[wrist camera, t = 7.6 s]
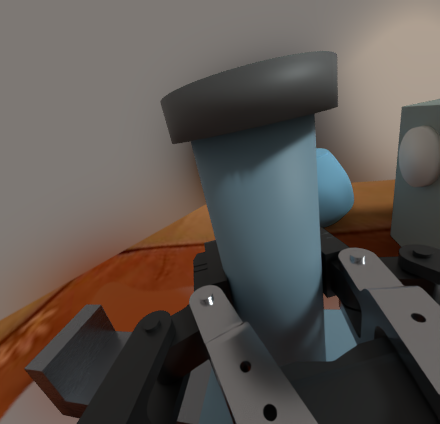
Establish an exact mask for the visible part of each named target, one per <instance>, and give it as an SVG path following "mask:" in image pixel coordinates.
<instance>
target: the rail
mask: <svg viewBox="0 0 440 424" xmlns="http://www.w3.org/2000/svg"><path fill="white" fill-rule="evenodd" d="M131 334H132V332H119V331H115V329H114V328H113V326H112V324H111V322H110V320H109V318H108V317H107V315H106V313H105V311H104V309H103V307H102V306H101V305H86V306H85V307H84V308H83V309H82V310H81V311H80V312H79V313H78V314H77V315H76V316H75V317H74V318H73V319H72V320H71V321H70V322H69V323H68V324H67V325H66V326H65V327H64V328H63V329H62V330H61V331H60V332H59V333H58V334H57V335H56V336H55V338H54V339H53V340H52V341H51V342H50V343H49V344H48V345H47V346H46V347H45V348H44V349H43V350H42V351H41V352H40V353H39V354H38V355H37V356H36V357H35V358H34V359H33V360H32V361H31V362H30V363H29V364H28V365H27V366H26V367H25V368H24V369H25V371H26V372H27V373H28V374H29V375H30V376H31V378H32V379H33V380H34V381H35V382H36V384H37V385H38V386H39V387H40V388H41V390H42V391H43V392H44V393H45V394H46V395H47V397H48V398H49V399H50V400H51V401H52V403H53V404H54V405H55V406H56V407H57V408H58V410H59V411H60V412H61V413H62V414H63V415H66V416H71V417H76V418H80V417H81V416H82V414H83V413H84V411H85V409H86V408H87V406H88V404H89V403H90V401H91V399H92V398H93V396H94V394H95V393H96V391H97V390H98V388H99V386H100V385H101V383H102V381H103V380H104V378H105V376H106V375H107V373H108V372H109V370H110V368H111V367H112V365H113V363H114V362H115V360H116V358H117V357H118V355H119V353H120V352H121V350H122V349H123V347H124V345H125V344H126V342H127V340H128V339H129V337H130V335H131ZM211 368H212V366H211V363H210V361H209V360H207V361H206V362H204V363H203V364H201V365H200V366H198V367H197V368H195V369H194V370H192V371H191V374H190V377H189V381H188V384H187V388H186V391H185V395H184V398H183V402H182V405H181V409H180V412H179V416H178V419H177V423H176V424H198V423H199V419H200V415H201V411H202V406H203V402H204V398H205V394H206V390H207V385H208V381H209V377H210V373H211Z"/></svg>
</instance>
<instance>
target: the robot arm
mask: <svg viewBox="0 0 440 424" xmlns="http://www.w3.org/2000/svg"><path fill="white" fill-rule="evenodd" d="M320 242H321V263H322V284H323V293H324V294H325V296H326V297H327V298H328V297H332V296H335V295H336V296H337V297H338V298H339V307H340V309H341V311H342V314H343V316H344V318H345V320H346V322H347V324H348V326H349V329H350V331H351V333H352V335H353V337H354V339H355V342H356V344H357V345H356V346H355V347H353V348H352V349H351V350H349V351H348V352H346V353H345V354H343V355H342V356H340V357H339V358H337V359H336V360H334V361H301V362H293V363H290V364H286V365H283V366H278V365H277V363H276V362H275V360H274V359H273V357H272V356H271V354H270V353H269V351H268V350H267V349H266V347H265V346H264V344H263V343H262V341H261V340H260V338H259V337H258V335H257V334H256V333H255V331H254V330H253V328H252V327H251V325H250V324H249V323H248V322H247V321H244V322H242V320H241V319H240V317H239V316H238V314H237V313H236V311H235V310H234V306H233V302H232V299H231V295H230V291H229V287H228V283H227V279H226V275H225V272H224V270H223V266H222V262H221V258H220V254H219V250H218V246H217V243H216V240H214V241H210V242H206V243H204V244H205V252H203V253H199V254H197V255H196V257H195V258H194V260H193V264H194V293H193V294H192V295H191V297H190V300H189V305H187V307H185V308H184V309H182V310H181V311H179V312H177V313H175V314H174V315H172V316H170V314H169V313H168V312H166V311H155V312H152V313H150V314H148V315H147V316H145V317H144V318H143V319H142V320H141V321H140V322H139V323H138V324H137V326H136V327H135V329H134V331H133V332H132V334H131V335H130V337H129V339H128V340H127V342H126V344H125V345H124V347H123V349H122V350H121V352H120V353H119V355H118V357H117V358H116V360H115V362H114V363H113V365H112V367H111V368H110V370H109V372H108V373H107V375H106V376H105V378H104V380H103V381H102V383H101V385H100V386H99V388H98V390H97V391H96V393H95V394H94V396H93V398H92V399H91V401H90V403H89V404H88V406H87V408H86V409H85V411H84V413H83V414H82V416H81V417H80V419H79V421H78V422H77V424H176V423H177V419H178V416H179V412H180V409H181V405H182V402H183V398H184V395H185V391H186V388H187V384H188V381H189V377H190V374H191V371H192V370H194V369H195V368H197V367H198V366H200V365H201V364H203V363H204V362H206V361H207V360H209V361H210V363H211V366H212V369H213V371H214V374H215V377H216V379H217V382H218V384H219V387H220V390H221V392H222V395H223V398H224V400H225V403H226V406H227V409H228V411H229V414H230V417H231V419H232V422H233V424H440V249H437V248H434V247H430V246H426V245H418V244H412V245H405V246H403V247H401V248H400V249H399V256H398V257H377V256H376V255H375V254H374V253H373V252H371V251H369V250H366V249H362V248H350V247H348V246H347V245H345V244H344V243H343V242H341V241H340V240H339V239H337V238H336V237H333V235H332V234H330V233H328V231H326V230H325V229H323V228H322V227H320Z"/></svg>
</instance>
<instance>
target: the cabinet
mask: <svg viewBox="0 0 440 424" xmlns="http://www.w3.org/2000/svg"><path fill="white" fill-rule="evenodd" d="M391 237H392V238H393V239H394V240H395V241H396V242H397V243H398V244H399V245H400V246H401V247H403V246H405V245H412V244H418V245H426V246H430V247H434V248H437V249H440V99H437V100H433V101H428V102H423V103H418V104H413V105H409V106H404V107H402V113H401V124H400V134H399V146H398V157H397V169H396V179H395V191H394V202H393V213H392V224H391Z"/></svg>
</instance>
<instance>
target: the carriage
mask: <svg viewBox="0 0 440 424" xmlns="http://www.w3.org/2000/svg"><path fill="white" fill-rule="evenodd" d="M337 95H338V90H337V54H336V53H334V52H329V51H317V52H307V53H300V54H293V55H288V56H283V57H278V58H273V59H269V60H264V61H260V62H256V63H252V64H248V65H245V66H241V67H238V68H234V69H231V70H227V71H224V72H221V73H218V74H215V75H212V76H209V77H206V78H204V79H201V80H198V81H195V82H193V83H190V84H188V85H185V86H183V87H181V88H179V89H177V90H175V91H173V92H171V93H169V94H168V95H166V96H165V97H164V98H162V100H161V106H162V109H163V113H164V116H165V120H166V123H167V127H168V130H169V134H170V137H171V141H172V144H177V143H183V142H189V141H191V144H192V148H193V152H194V155H195V159H196V163H197V167H198V171H199V175H200V179H201V183H202V187H203V191H204V195H205V199H206V203H207V207H208V211H209V215H210V219H211V223H212V227H213V231H214V235H215V239H216V243H217V246H218V250H219V254H220V258H221V262H222V266H223V270H224V272H225V275H226V279H227V283H228V287H229V291H230V295H231V299H232V302H233V306H234V310H235V311H236V313H237V314H238V316H239V317H240V319H241V320H242V322H244V321H247V322H248V323H249V324H250V325H251V327H252V328H253V330H254V331H255V333H256V334H257V335H258V337H259V338H260V340H261V341H262V343H263V344H264V346H265V347H266V349H267V350H268V351H269V353H270V354H271V356H272V357H273V359H274V360H275V362H276V363H277V365H278V366H283V365H286V364H290V363H293V362H301V361H334V360H336V359H337V358H339V357H340V356H342V355H343V354H345V353H346V352H348V351H349V350H351V349H352V348H353V347H355V346H356V345H357V344H356V342H355V339H354V337H353V335H352V333H351V331H350V329H349V326H348V324H347V322H346V320H345V318H344V316H343V314H342V311H341V310H325V309H324V307H323V284H322V263H321V242H320V221H319V200H318V180H317V159H316V138H315V118H314V113H317V112H321V111H325V110H329V109H332V108H335V107H338V96H337ZM198 424H233V422H232V419H231V417H230V414H229V411H228V409H227V406H226V403H225V400H224V398H223V395H222V392H221V390H220V387H219V384H218V382H217V379H216V377H215V374H214V371H213V369H212V368H211V373H210V377H209V381H208V385H207V390H206V394H205V398H204V402H203V406H202V411H201V415H200V419H199V423H198Z"/></svg>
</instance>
